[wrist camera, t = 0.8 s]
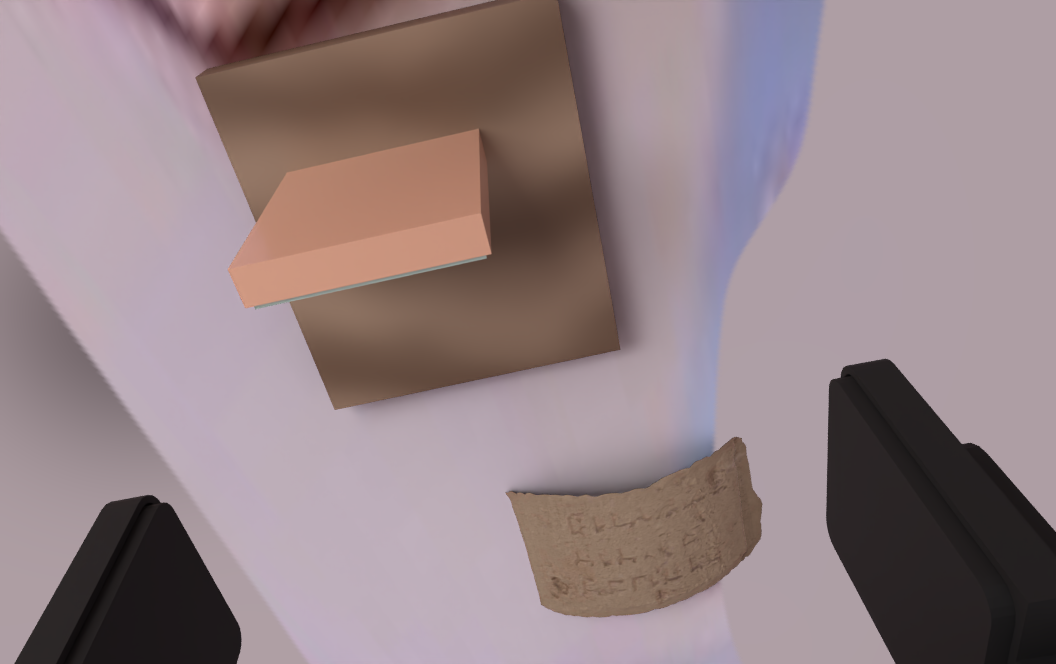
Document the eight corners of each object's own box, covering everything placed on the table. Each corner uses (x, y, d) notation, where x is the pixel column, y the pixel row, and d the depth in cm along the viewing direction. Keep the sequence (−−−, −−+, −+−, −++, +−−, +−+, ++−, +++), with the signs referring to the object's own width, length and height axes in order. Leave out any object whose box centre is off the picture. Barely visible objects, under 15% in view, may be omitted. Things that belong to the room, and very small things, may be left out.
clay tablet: (741, 422, 43) (756, 454, 40) (762, 550, 48) (777, 585, 45) (485, 486, 44) (485, 520, 42) (532, 605, 49) (535, 641, 47)
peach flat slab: (286, 172, 32) (227, 269, 24) (478, 128, 32) (480, 212, 24) (300, 208, 33) (247, 313, 25) (488, 166, 32) (492, 259, 25)
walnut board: (206, 69, 31) (195, 77, 30) (552, -14, 31) (556, -9, 29) (339, 392, 39) (334, 409, 38) (615, 333, 39) (620, 349, 37)
